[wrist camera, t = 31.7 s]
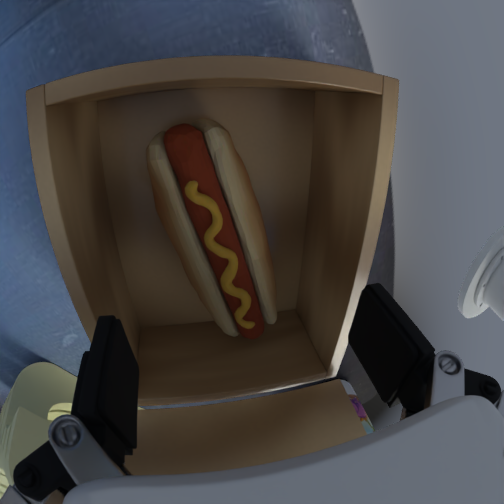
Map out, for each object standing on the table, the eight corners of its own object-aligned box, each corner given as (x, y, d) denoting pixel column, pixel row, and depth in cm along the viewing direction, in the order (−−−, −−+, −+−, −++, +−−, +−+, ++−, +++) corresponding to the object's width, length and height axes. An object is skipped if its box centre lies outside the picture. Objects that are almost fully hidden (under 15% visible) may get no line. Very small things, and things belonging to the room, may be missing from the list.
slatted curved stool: (55, 303, 20) (4, 508, 5) (191, 382, 28) (218, 544, 13) (-1, 405, 25) (-17, 500, 10) (82, 447, 33) (82, 536, 18)
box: (87, 90, 13) (24, 90, 7) (321, 80, 16) (399, 79, 9) (133, 328, 23) (126, 406, 16) (300, 308, 25) (336, 376, 19)
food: (278, 287, 22) (299, 332, 18) (211, 310, 22) (219, 359, 18) (226, 104, 15) (242, 106, 11) (135, 136, 15) (116, 151, 11)
